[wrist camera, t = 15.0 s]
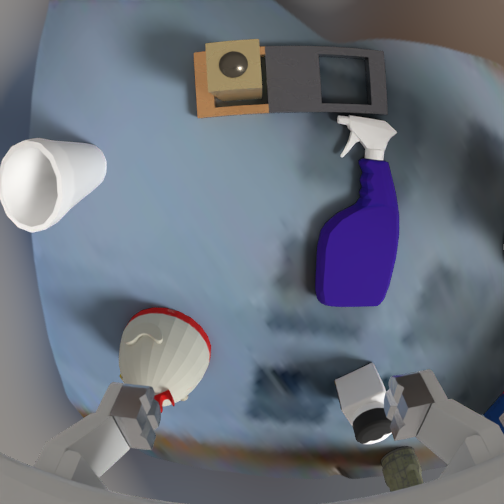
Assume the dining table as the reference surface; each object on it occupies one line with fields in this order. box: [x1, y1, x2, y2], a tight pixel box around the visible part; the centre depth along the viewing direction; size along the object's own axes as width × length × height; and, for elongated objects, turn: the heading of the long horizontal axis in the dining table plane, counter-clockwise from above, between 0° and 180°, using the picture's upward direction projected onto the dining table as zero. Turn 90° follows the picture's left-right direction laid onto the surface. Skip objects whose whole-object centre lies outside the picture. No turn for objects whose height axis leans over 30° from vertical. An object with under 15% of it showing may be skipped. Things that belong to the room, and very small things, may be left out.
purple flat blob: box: [315, 115, 399, 307], centre depth 39 cm, size 3×11×24 cm
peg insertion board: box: [194, 46, 388, 118], centre depth 33 cm, size 22×8×2 cm, turn 93°
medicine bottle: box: [335, 363, 392, 444], centre depth 45 cm, size 7×7×12 cm
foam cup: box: [0, 138, 106, 233], centre depth 32 cm, size 10×9×13 cm
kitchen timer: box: [119, 308, 211, 413], centre depth 41 cm, size 14×14×15 cm
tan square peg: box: [205, 39, 262, 102], centre depth 29 cm, size 4×4×11 cm
